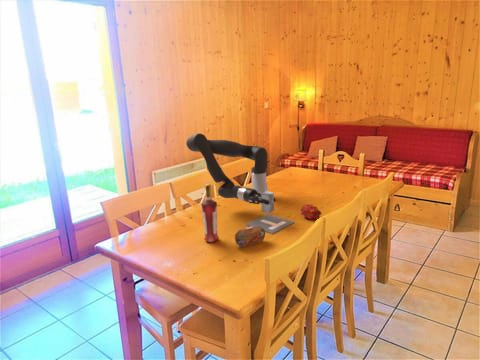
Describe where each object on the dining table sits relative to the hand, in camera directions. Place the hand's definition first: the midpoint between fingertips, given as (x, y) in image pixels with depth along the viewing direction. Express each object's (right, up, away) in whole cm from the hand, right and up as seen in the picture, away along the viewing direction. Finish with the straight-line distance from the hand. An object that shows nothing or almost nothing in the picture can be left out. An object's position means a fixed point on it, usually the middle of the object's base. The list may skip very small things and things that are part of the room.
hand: (271, 201), depth 189 cm
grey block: (-2, -5, +3) cm, 7 cm away
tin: (-11, -19, -17) cm, 28 cm away
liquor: (-30, -18, -11) cm, 37 cm away
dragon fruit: (+22, -10, +10) cm, 26 cm away
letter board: (0, -12, +5) cm, 13 cm away
